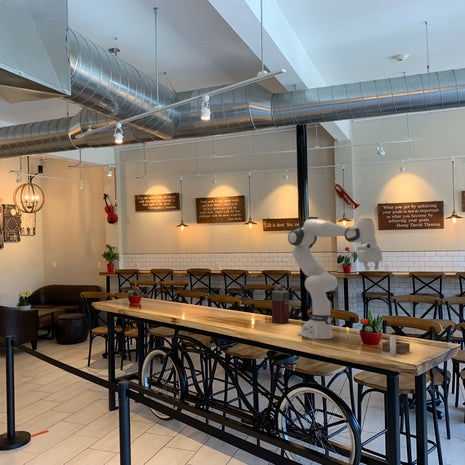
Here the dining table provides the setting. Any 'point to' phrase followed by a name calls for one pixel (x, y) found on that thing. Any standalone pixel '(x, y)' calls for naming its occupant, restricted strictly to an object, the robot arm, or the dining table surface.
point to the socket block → (397, 347)
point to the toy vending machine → (280, 306)
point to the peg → (392, 346)
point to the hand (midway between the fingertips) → (372, 270)
